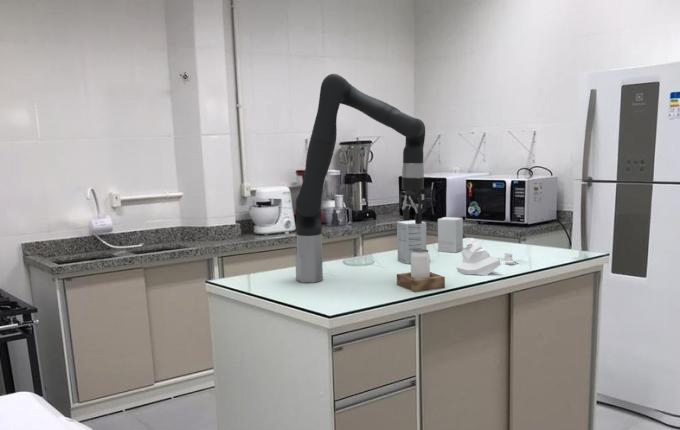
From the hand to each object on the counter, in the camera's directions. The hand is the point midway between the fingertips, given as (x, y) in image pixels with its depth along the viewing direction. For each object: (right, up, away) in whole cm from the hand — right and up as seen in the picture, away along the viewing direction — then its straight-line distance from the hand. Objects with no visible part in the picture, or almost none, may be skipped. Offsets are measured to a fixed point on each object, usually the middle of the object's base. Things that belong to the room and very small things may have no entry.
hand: (412, 222), depth 208 cm
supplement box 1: (+5, -17, +41) cm, 44 cm away
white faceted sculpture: (+26, -20, +18) cm, 37 cm away
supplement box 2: (+25, -14, +63) cm, 69 cm away
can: (+2, -22, -2) cm, 22 cm away
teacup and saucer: (+41, -18, +33) cm, 55 cm away
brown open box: (+3, -22, -2) cm, 23 cm away
